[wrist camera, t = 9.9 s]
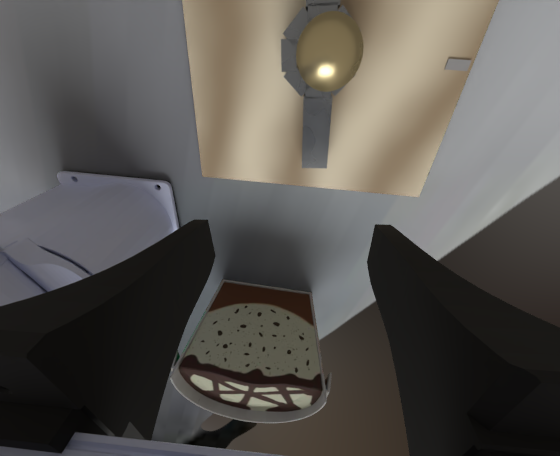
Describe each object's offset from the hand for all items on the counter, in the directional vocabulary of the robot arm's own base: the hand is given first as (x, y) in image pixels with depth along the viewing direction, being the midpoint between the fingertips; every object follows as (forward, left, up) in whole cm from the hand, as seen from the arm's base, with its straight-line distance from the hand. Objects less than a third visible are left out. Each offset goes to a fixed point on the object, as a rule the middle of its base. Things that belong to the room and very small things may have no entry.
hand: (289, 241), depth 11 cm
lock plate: (+1, +7, -9) cm, 12 cm away
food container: (-2, -16, -10) cm, 19 cm away
